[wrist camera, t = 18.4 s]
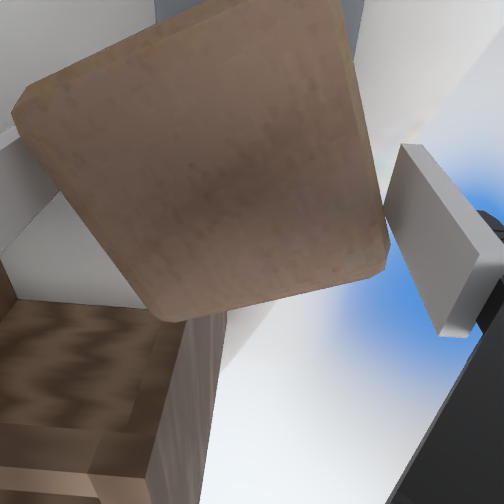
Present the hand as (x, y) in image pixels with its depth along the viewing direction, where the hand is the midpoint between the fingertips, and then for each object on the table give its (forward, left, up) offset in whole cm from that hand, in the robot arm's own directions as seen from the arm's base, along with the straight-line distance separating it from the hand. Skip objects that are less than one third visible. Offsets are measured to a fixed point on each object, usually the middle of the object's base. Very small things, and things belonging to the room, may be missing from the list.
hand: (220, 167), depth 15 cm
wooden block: (0, 0, -17) cm, 17 cm away
